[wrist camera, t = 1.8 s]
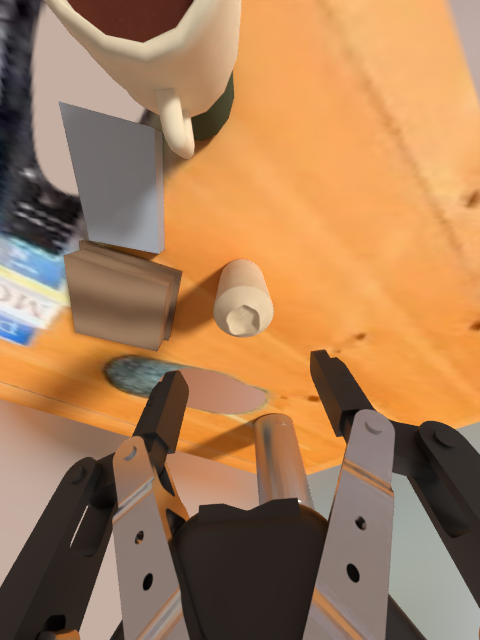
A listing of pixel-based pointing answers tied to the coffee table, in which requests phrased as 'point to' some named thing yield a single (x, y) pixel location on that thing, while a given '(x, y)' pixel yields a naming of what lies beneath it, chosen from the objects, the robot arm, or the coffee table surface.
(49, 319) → the coffee table surface
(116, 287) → the stand
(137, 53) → the character mug
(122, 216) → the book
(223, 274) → the candle
